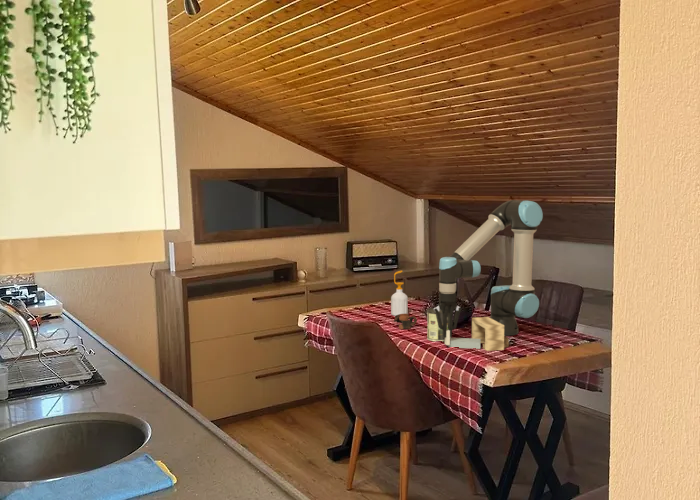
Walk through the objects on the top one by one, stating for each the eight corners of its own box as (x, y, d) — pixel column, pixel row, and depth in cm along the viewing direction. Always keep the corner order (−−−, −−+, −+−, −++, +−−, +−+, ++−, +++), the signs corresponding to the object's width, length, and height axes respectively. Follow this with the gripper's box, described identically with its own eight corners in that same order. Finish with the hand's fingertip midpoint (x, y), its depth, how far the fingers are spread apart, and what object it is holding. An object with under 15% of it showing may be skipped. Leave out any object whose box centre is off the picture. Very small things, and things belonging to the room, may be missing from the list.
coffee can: (449, 337, 320) (449, 307, 319) (448, 342, 310) (448, 312, 309) (427, 336, 322) (428, 307, 321) (426, 341, 312) (426, 311, 311)
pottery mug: (393, 330, 337) (391, 314, 340) (398, 334, 345) (396, 319, 348) (416, 325, 334) (414, 309, 337) (421, 330, 342) (418, 314, 345)
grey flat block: (480, 345, 305) (480, 338, 305) (480, 349, 298) (480, 342, 298) (449, 343, 308) (449, 337, 308) (448, 347, 301) (448, 341, 301)
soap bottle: (408, 316, 368) (408, 271, 365) (391, 316, 368) (391, 271, 365) (407, 312, 377) (407, 269, 374) (390, 313, 377) (390, 269, 374)
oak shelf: (495, 339, 315) (496, 316, 313) (512, 349, 297) (512, 324, 296) (471, 341, 312) (471, 317, 311) (486, 350, 295) (487, 326, 293)
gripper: (458, 290, 303) (458, 341, 305) (431, 291, 300) (430, 343, 303) (464, 293, 295) (463, 345, 298) (436, 294, 293) (435, 347, 296)
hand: (447, 344), depth 301 cm, fingers closed
